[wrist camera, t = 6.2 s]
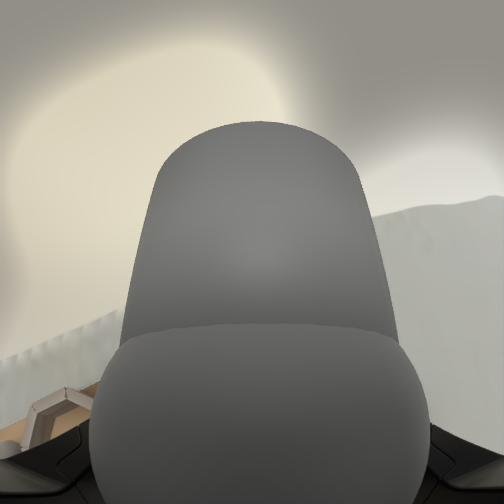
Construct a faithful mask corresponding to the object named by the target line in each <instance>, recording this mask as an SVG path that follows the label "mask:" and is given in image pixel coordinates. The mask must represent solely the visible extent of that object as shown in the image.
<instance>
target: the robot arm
mask: <svg viewBox="0 0 504 504" xmlns="http://www.w3.org/2000/svg"><path fill="white" fill-rule="evenodd" d="M89 423H90V418H88V419H87V420H85V421H83V422H82V423H80V424H79V426H75V427H73V428H71V429H70V430H68V431H66V432H64V433H62V434H61V435H59V436H57V437H55V438H53V439H51V440H49V441H46V442H44V443H42V444H40V445H37V446H35V447H33V448H30V449H28V450H25V451H23V452H21V453H18V454H16V455H13V456H11V457H8V458H4V459H0V504H106V503H105V501H104V499H103V497H102V495H101V493H100V490H99V488H98V485H97V482H96V479H95V476H94V472H93V469H92V464H91V457H90V450H89ZM412 504H504V455H501V454H498V453H495V452H493V451H490V450H488V449H485V448H483V447H480V446H478V445H475V444H473V443H470V442H468V441H466V440H463V439H461V438H459V437H457V436H455V435H453V434H451V433H449V432H447V431H445V430H443V429H441V428H439V427H438V426H436V425H434V424H433V425H432V423H430V448H429V455H428V462H427V466H426V470H425V473H424V477H423V480H422V483H421V486H420V488H419V490H418V492H417V495H416V497H415V499H414V501H413V503H412Z"/></svg>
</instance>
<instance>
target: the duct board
mask: <svg viewBox="0 0 504 504" xmlns="http://www.w3.org/2000/svg"><path fill="white" fill-rule="evenodd" d="M99 382H100V381H99ZM99 382H97V383H95V384H93V385H91V386H89V387H87V388H85V389H84V390H82V391H80V392H79V391H76V390H73V389H71V388H68V387H67V388H65V387H64V388H62V389H60V390H58V391H56V392H54V393H52V394H50V395H48V396H46V397H44V398H42V399H40V400H38V401H36V402H34V403H32V407H31V406H30V408H29V412H28V415H27V418H25V419H23V420H21V421H19V422H17V423H15V424H13V425H11V426H9V427H7V428H4V429H2V430H0V459H4V458H8V457H11V456H13V455H16V454H18V453H21V452H23V451H25V450H28V449H30V448H33V447H35V446H37V445H40V444H42V443H44V442H46V441H49V440H51V439H53V438H55V437H57V436H59V435H61V434H62V433H64V432H66V431H68V430H70V429H71V428H73V427H75V426H79V424H80V423H82V422H83V421H85V420H87V419H88V418H90V416H91V409H92V404H93V401H94V397H95V394H96V390H97V387H98V385H99Z"/></svg>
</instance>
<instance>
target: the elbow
mask: <svg viewBox="0 0 504 504" xmlns="http://www.w3.org/2000/svg"><path fill="white" fill-rule="evenodd" d="M429 448H430V419H429V412H428V406H427V401H426V398H425V394H424V391H423V387H422V384H421V382H420V380H419V377H418V375H417V373H416V371H415V369H414V366H413V365H412V363H411V361H410V360H409V358H408V357H407V355H406V353H405V352H404V350H403V349H402V348H401V346H400V345H399V341H398V334H397V329H396V323H395V317H394V312H393V307H392V302H391V297H390V292H389V287H388V282H387V278H386V273H385V269H384V265H383V260H382V256H381V252H380V248H379V244H378V240H377V236H376V233H375V229H374V225H373V222H372V218H371V215H370V211H369V208H368V204H367V201H366V197H365V194H364V191H363V188H362V185H361V181H360V179H359V176H358V173H357V171H356V169H355V167H354V165H353V164H352V162H351V161H350V160H349V158H348V157H347V156H346V155H345V154H344V153H343V152H342V151H341V150H340V149H339V148H338V147H337V146H335V145H334V144H332V143H331V142H330V141H328V140H327V139H325V138H324V137H322V136H319V135H318V134H315V133H313V132H311V131H308V130H306V129H303V128H300V127H297V126H293V125H288V124H283V123H277V122H263V121H255V122H240V123H234V124H229V125H224V126H221V127H217V128H214V129H211V130H208V131H206V132H204V133H201V134H199V135H197V136H195V137H193V138H192V139H190V140H189V141H187V142H185V143H184V144H182V145H181V146H180V147H179V148H178V149H176V150H175V151H174V152H173V153H172V154H171V155H170V156H169V158H168V159H167V160H166V161H165V162H164V164H163V166H162V167H161V169H160V171H159V173H158V175H157V178H156V181H155V184H154V187H153V191H152V195H151V198H150V202H149V205H148V209H147V213H146V217H145V221H144V225H143V229H142V233H141V237H140V241H139V245H138V250H137V254H136V258H135V263H134V268H133V273H132V277H131V282H130V288H129V292H128V298H127V303H126V308H125V314H124V320H123V326H122V332H121V339H120V346H119V349H118V350H117V351H116V353H115V354H114V356H113V358H112V359H111V361H110V362H109V364H108V366H107V367H106V369H105V371H104V374H103V376H102V378H101V380H100V382H99V385H98V387H97V390H96V394H95V397H94V401H93V404H92V409H91V416H90V423H89V450H90V457H91V464H92V469H93V472H94V476H95V479H96V482H97V485H98V488H99V490H100V493H101V495H102V497H103V499H104V501H105V503H106V504H412V503H413V501H414V499H415V497H416V495H417V492H418V490H419V488H420V486H421V483H422V480H423V477H424V473H425V470H426V466H427V462H428V455H429Z"/></svg>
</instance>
